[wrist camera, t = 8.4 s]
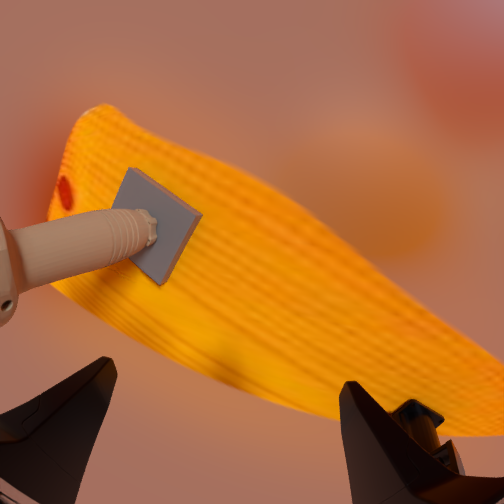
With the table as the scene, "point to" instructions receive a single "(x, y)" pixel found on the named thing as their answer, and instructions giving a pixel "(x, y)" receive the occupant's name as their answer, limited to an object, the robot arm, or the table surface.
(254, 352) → the table surface
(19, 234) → the handle
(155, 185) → the plate
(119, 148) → the table surface
